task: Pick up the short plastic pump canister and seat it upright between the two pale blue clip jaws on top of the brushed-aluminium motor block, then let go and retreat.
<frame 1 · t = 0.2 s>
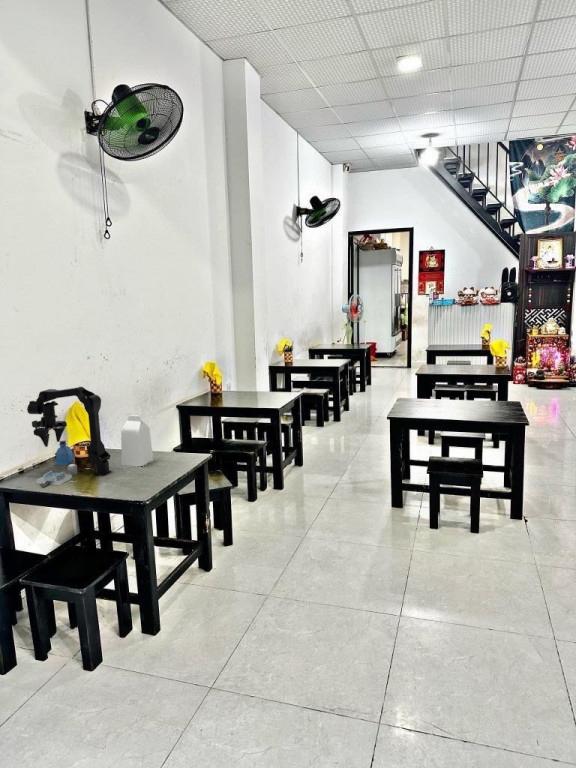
hand: (52, 444, 272), 14 cm above the table, fingers open, 9 cm apart
motor block: (54, 480, 259), on the table
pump: (72, 474, 268), on the table
milk: (137, 463, 283), on the table
perfume bottle: (64, 463, 287), on the table
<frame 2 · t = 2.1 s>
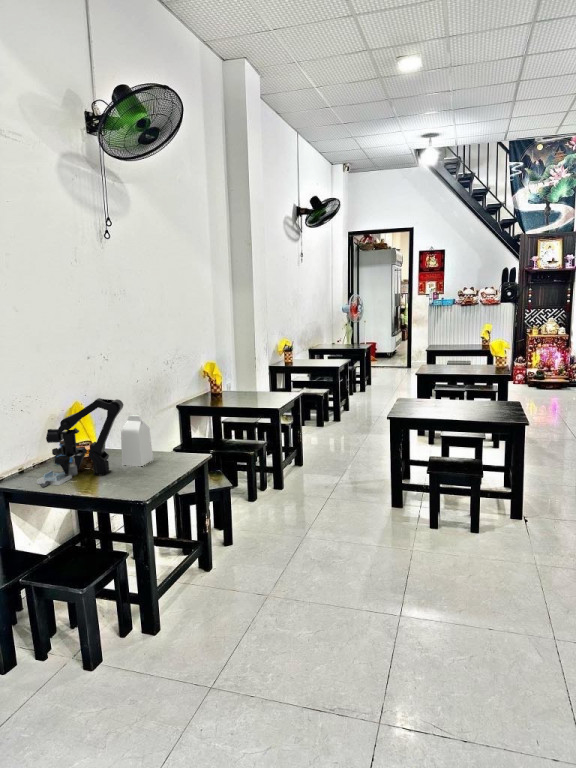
hand: (72, 471, 267), 1 cm above the table, fingers open, 9 cm apart
nothing on the table moved.
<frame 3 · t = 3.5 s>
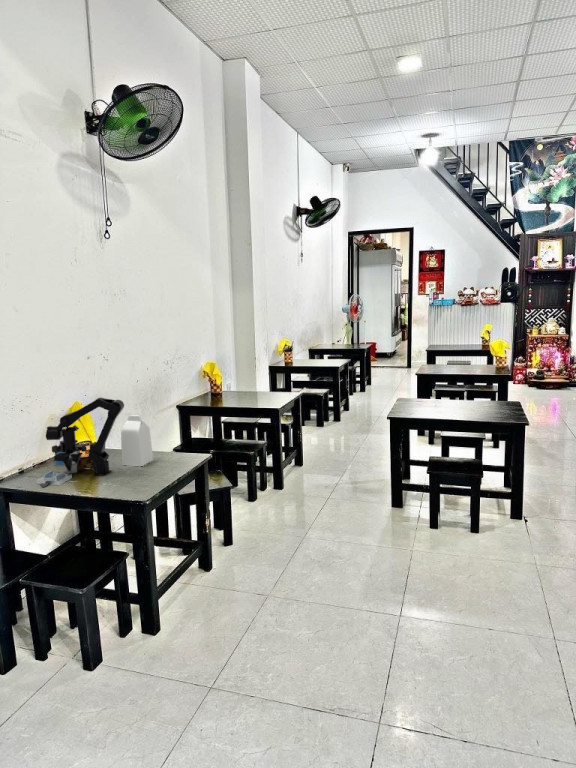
hand: (72, 469, 267), 3 cm above the table, fingers closed on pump, 4 cm apart
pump: (72, 471, 267), point 1 cm above the table, touching gripper
everything else where it was.
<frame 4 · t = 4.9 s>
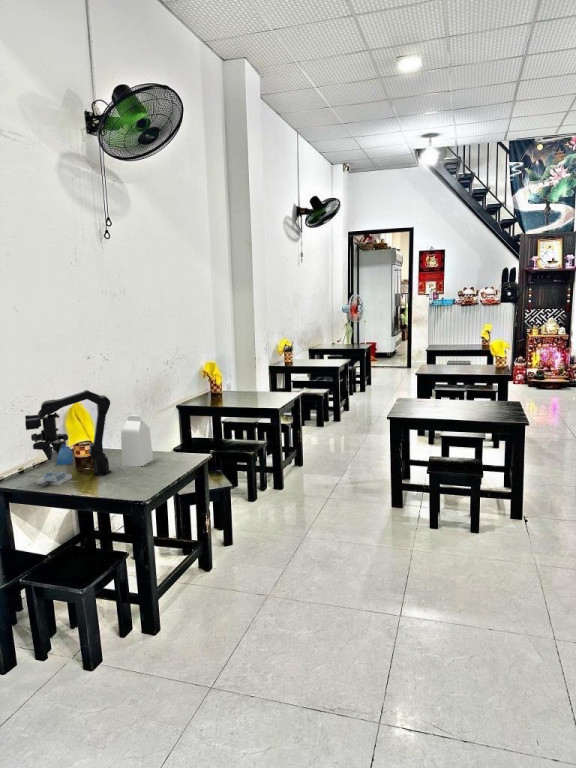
hand: (52, 458, 257), 11 cm above the table, fingers closed on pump, 4 cm apart
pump: (52, 461, 257), point 10 cm above the table, touching gripper
everything else where it was.
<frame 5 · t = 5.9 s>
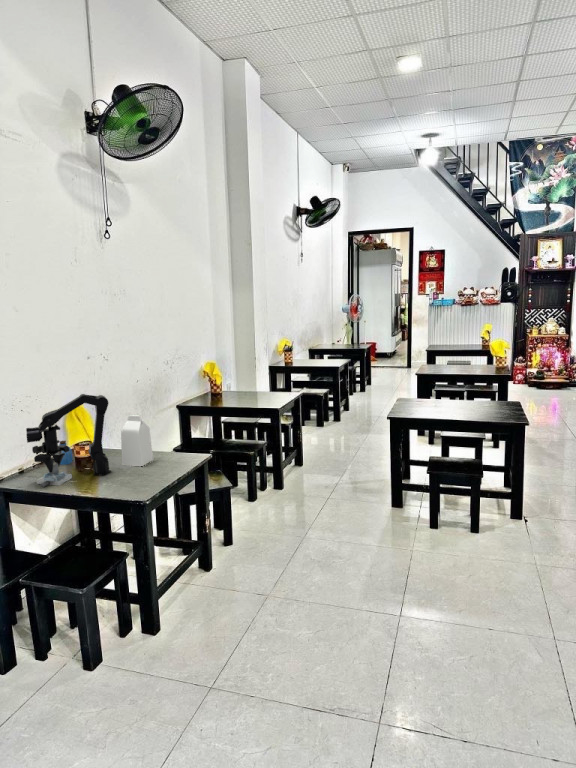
hand: (53, 470, 258), 5 cm above the table, fingers closed on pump, 4 cm apart
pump: (54, 472, 258), point 4 cm above the table, touching gripper
everything else where it was.
when the fingers open (4 cm above the table, at t = 6.9 s): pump stays where it is, resting on motor block.
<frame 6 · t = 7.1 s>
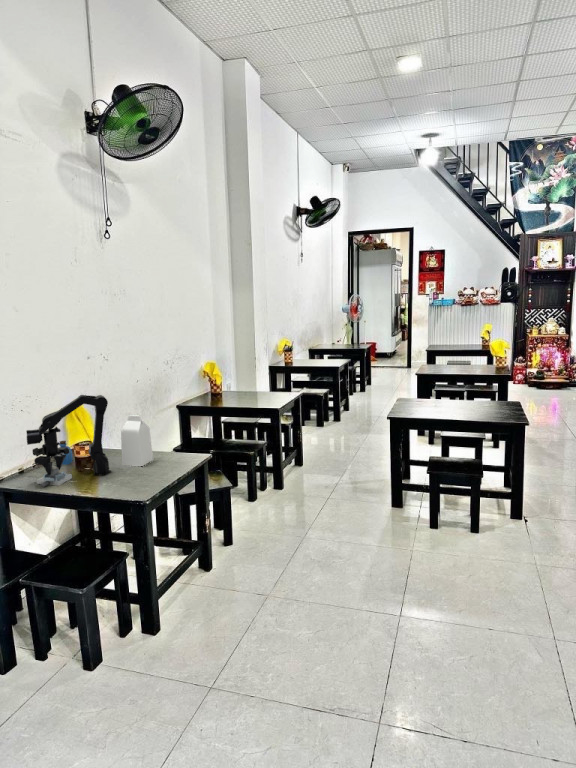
hand: (54, 472, 258), 4 cm above the table, fingers open, 7 cm apart
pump: (54, 476, 258), point 2 cm above the table, touching motor block
everything else where it was.
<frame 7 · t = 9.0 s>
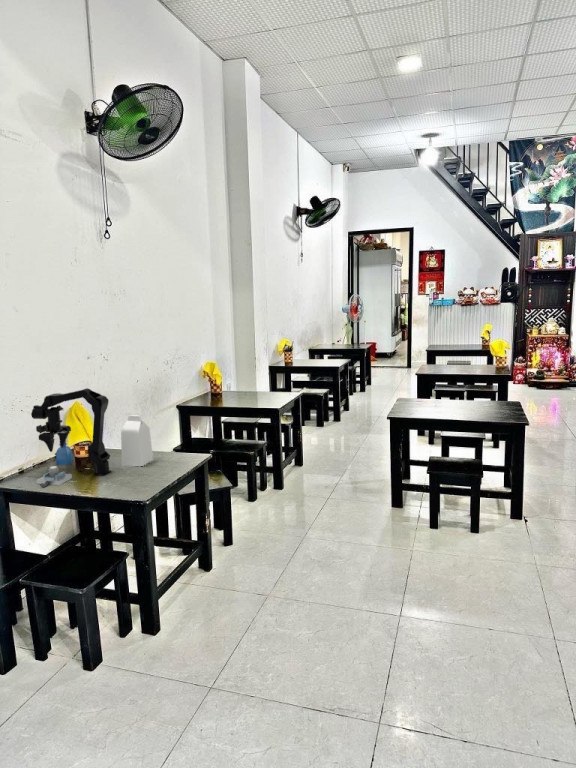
hand: (56, 449, 269), 12 cm above the table, fingers open, 9 cm apart
nothing on the table moved.
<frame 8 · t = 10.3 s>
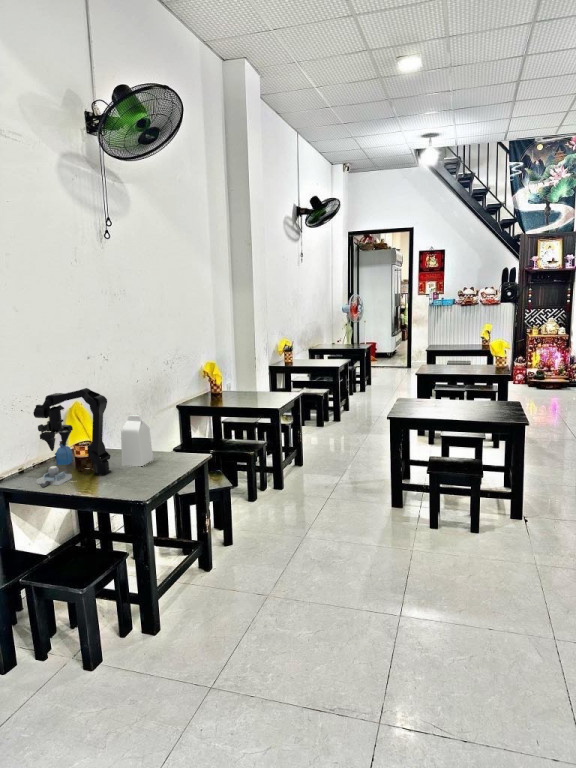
hand: (58, 448, 272), 12 cm above the table, fingers open, 9 cm apart
nothing on the table moved.
at the end: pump 0.1 cm off-centre on the motor block, point 2.1 cm above the motor block's base; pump tilted 2°; the gripper is holding nothing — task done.
